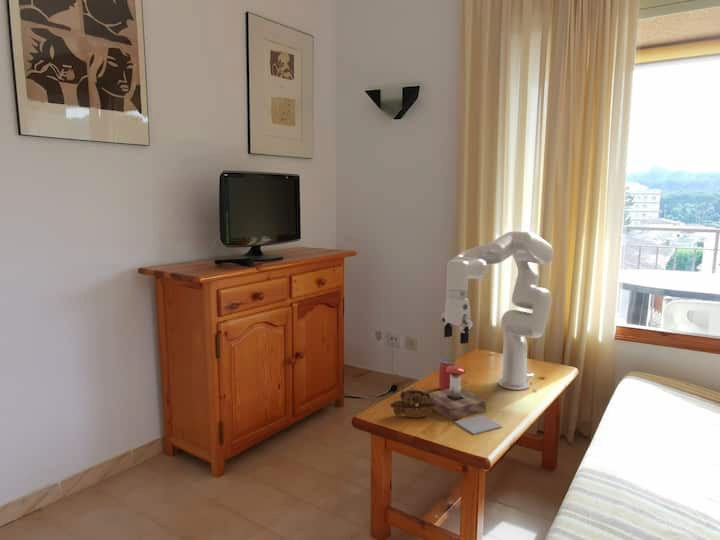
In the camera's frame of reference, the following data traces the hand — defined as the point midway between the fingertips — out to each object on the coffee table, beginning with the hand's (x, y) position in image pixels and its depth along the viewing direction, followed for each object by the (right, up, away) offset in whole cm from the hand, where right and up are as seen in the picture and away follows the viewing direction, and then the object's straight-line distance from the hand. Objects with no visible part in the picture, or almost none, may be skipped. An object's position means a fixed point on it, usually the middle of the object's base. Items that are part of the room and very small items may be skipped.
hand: (456, 339), depth 189 cm
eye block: (0, -26, +4) cm, 26 cm away
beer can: (0, -24, +21) cm, 32 cm away
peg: (0, -26, +4) cm, 26 cm away
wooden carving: (-16, -27, -4) cm, 32 cm away
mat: (+5, -28, -11) cm, 31 cm away
